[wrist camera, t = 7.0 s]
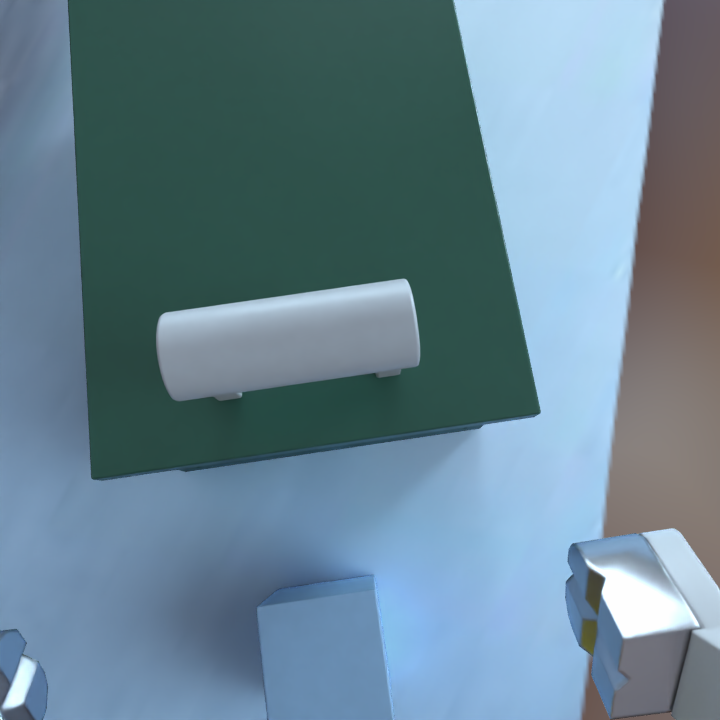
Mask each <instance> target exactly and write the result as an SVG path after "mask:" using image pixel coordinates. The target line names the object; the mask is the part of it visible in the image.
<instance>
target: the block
mask: <svg viewBox="0 0 720 720" xmlns="http://www.w3.org/2000/svg"><path fill="white" fill-rule="evenodd" d="M256 613H257V623H258V633H259V643H260V652H261V662H262V672H263V682H264V692H265V702H266V711H267V720H393V719H394V710H393V701H392V693H391V684H390V676H389V669H388V662H387V655H386V648H385V641H384V634H383V627H382V620H381V613H380V606H379V599H378V592H377V585H376V578H375V575H370V576H363V577H356V578H350V579H343V580H336V581H330V582H323V583H316V584H310V585H303V586H297V587H290V588H283V589H278V590H277V591H275V592H274V593H273V594H272V595H271V596H269V597H268V598H267V599H266V600H264V601H263V602H262V603H261V604H260V605H258V606H257V607H256Z"/></svg>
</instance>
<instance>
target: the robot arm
mask: <svg viewBox="0 0 720 720" xmlns="http://www.w3.org/2000/svg"><path fill="white" fill-rule="evenodd" d="M568 563H569V566H570V568H571V570H572V572H573V575H572V576H571V577H570V578H569V579H568V580H567V581H566V593H565V598H566V604H567V611H568V616H569V620H570V623H571V626H572V629H573V632H574V634H575V637H576V639H577V642H578V644H579V646H580V647H581V648H582V649H584V650H585V651H586V652H588V653H589V654H590V655H592V656H593V664H592V673H591V675H592V678H593V680H594V682H595V684H596V687H597V689H598V691H599V694H600V696H601V698H602V701H603V703H604V705H605V708H606V710H607V712H608V715H609V717H610V719H619V718H628V717H636V716H643V715H651V714H659V713H667V712H672V714H671V716H672V717H674V718H675V719H676V720H720V589H719V588H718V586H717V585H716V583H715V582H714V580H713V579H712V577H711V576H710V574H709V573H708V572H707V570H706V569H705V567H704V566H703V564H702V563H701V561H700V560H699V559H698V557H697V556H696V554H695V553H694V551H693V550H692V548H691V547H690V546H689V544H688V543H687V541H686V540H685V538H684V537H683V536H682V534H681V533H680V532H678V531H677V530H675V529H674V528H673V529H665V530H659V531H652V532H645V533H640V534H636V533H634V534H628V535H622V536H616V537H611V538H604V539H598V540H591V541H585V542H579V543H573V544H572V545H571V546H570V548H569V552H568ZM26 644H27V642H26V641H25V640H24V638H23V637H22V635H21V634H20V633H19V631H18V630H17V629H12V630H3V631H0V720H43V718H44V715H45V712H46V709H47V694H48V684H47V680H46V676H45V672H44V670H43V668H42V667H41V665H40V663H39V662H38V661H36V660H34V659H32V658H30V657H28V656H26V655H24V654H23V652H24V649H25V646H26Z"/></svg>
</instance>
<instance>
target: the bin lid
mask: <svg viewBox="0 0 720 720" xmlns="http://www.w3.org/2000/svg"><path fill="white" fill-rule="evenodd" d="M68 13H69V33H70V53H71V74H72V94H73V114H74V135H75V155H76V175H77V196H78V216H79V236H80V257H81V277H82V298H83V318H84V338H85V359H86V379H87V399H88V420H89V440H90V460H91V478H92V479H93V480H101V481H103V480H110V479H117V478H123V477H130V476H137V475H144V474H151V473H157V472H164V471H171V470H178V469H185V468H191V467H198V466H205V465H212V464H219V463H225V462H232V461H239V460H246V459H253V458H259V457H266V456H273V455H280V454H286V453H293V452H300V451H307V450H314V449H320V448H327V447H334V446H341V445H348V444H354V443H361V442H368V441H375V440H382V439H388V438H395V437H402V436H409V435H416V434H422V433H429V432H436V431H443V430H450V429H456V428H463V427H470V426H477V425H483V424H490V423H497V422H504V421H511V420H517V419H524V418H531V417H535V416H537V415H538V414H540V412H541V411H540V406H539V401H538V397H537V392H536V387H535V382H534V378H533V373H532V368H531V363H530V359H529V354H528V349H527V345H526V340H525V335H524V330H523V326H522V321H521V316H520V311H519V307H518V302H517V297H516V292H515V288H514V283H513V278H512V273H511V269H510V264H509V259H508V254H507V250H506V245H505V240H504V235H503V231H502V226H501V221H500V216H499V212H498V207H497V202H496V198H495V193H494V188H493V183H492V179H491V174H490V169H489V164H488V160H487V155H486V150H485V145H484V141H483V136H482V131H481V126H480V122H479V117H478V112H477V107H476V103H475V98H474V93H473V88H472V84H471V79H470V74H469V69H468V65H467V60H466V55H465V51H464V46H463V41H462V36H461V32H460V27H459V22H458V17H457V13H456V8H455V3H454V0H68Z"/></svg>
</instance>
